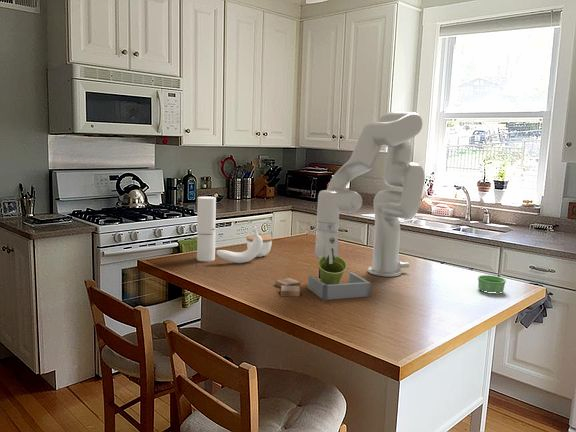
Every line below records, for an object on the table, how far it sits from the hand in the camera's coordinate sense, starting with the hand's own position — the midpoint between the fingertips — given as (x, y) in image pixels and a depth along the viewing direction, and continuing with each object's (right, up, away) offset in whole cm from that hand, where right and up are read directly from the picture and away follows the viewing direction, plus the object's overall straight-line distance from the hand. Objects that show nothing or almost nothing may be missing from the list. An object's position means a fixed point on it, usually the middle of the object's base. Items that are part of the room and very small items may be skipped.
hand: (323, 278), depth 180 cm
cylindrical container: (-45, +4, +29) cm, 54 cm away
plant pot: (+2, -1, -4) cm, 4 cm away
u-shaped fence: (+4, -3, -8) cm, 10 cm away
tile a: (-12, -2, -3) cm, 13 cm away
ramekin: (+58, -4, 0) cm, 58 cm away
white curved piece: (-31, +3, +25) cm, 40 cm away
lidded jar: (-25, +5, +39) cm, 47 cm away
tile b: (-12, -4, -12) cm, 17 cm away
